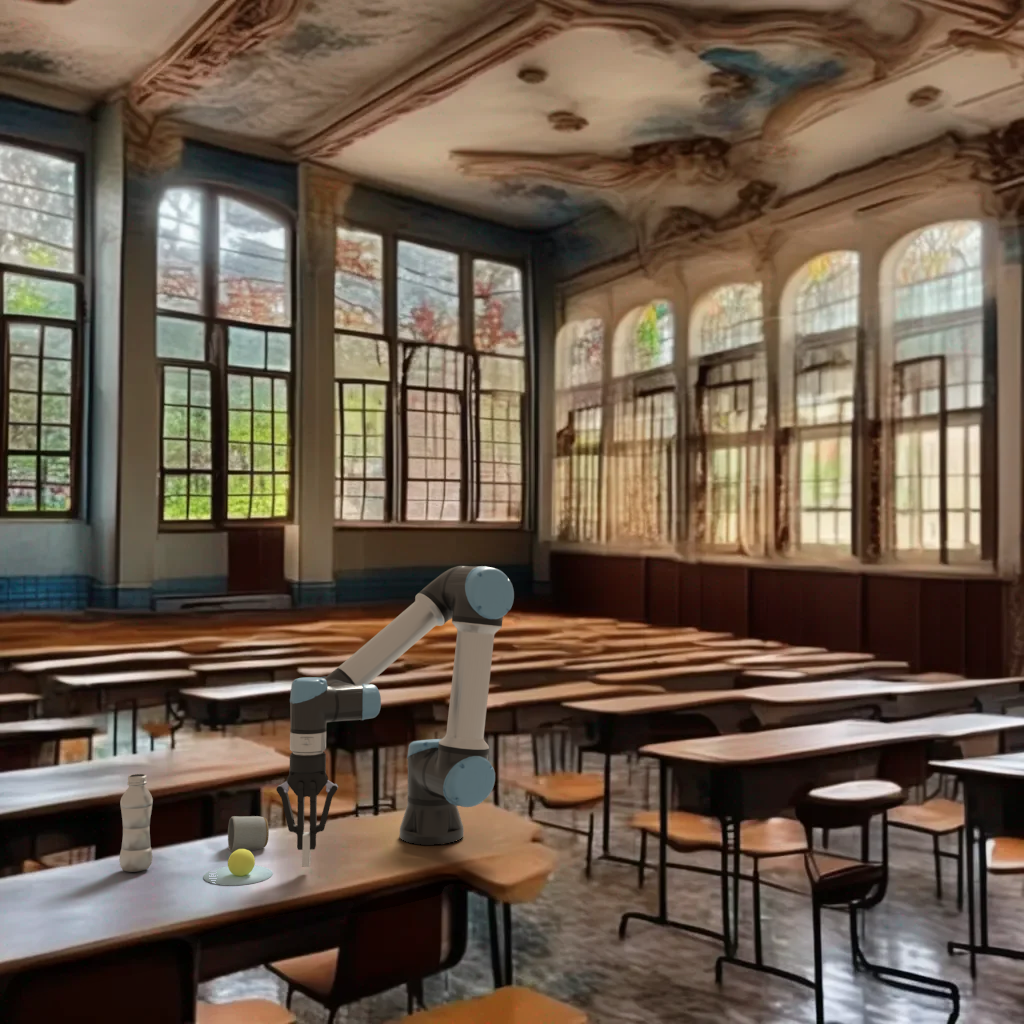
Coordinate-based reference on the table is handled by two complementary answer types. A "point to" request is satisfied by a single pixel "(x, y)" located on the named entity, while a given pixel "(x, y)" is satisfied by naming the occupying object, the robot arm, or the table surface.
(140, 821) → the plastic bottle
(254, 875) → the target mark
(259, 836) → the ceramic mug
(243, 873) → the ball
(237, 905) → the table surface
